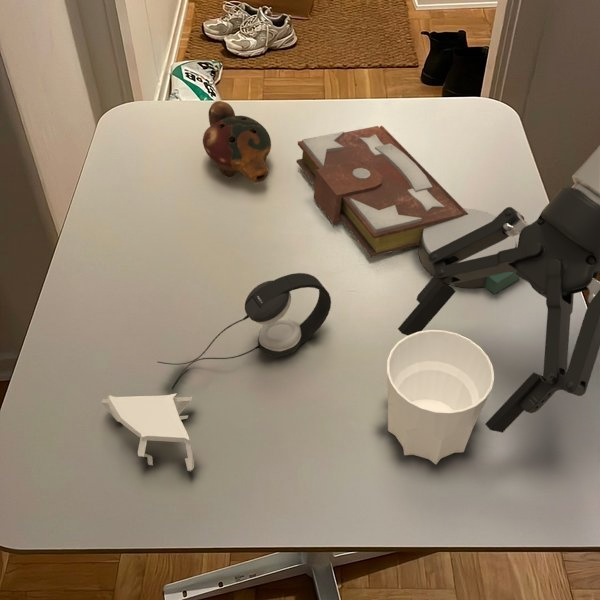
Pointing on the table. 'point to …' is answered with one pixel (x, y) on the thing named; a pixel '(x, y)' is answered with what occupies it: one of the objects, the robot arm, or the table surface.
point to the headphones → (280, 315)
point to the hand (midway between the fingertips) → (447, 378)
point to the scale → (457, 228)
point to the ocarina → (236, 143)
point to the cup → (436, 392)
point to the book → (375, 188)
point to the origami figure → (152, 420)
